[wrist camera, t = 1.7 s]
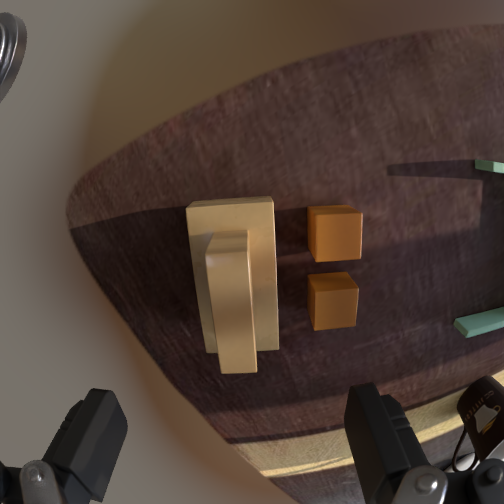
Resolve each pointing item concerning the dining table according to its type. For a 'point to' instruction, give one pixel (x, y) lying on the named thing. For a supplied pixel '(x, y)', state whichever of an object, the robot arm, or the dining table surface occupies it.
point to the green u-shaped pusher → (492, 317)
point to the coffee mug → (482, 420)
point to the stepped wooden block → (235, 278)
